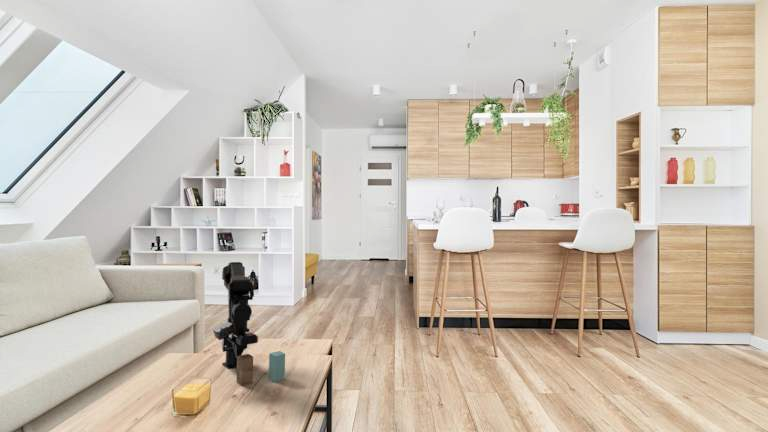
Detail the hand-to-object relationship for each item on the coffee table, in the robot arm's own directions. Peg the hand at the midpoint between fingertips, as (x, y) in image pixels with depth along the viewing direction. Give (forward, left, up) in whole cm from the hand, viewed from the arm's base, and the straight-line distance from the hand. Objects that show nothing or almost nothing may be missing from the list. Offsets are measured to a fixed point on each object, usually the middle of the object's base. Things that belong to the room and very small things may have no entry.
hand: (237, 358), depth 144 cm
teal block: (+10, +10, -7) cm, 16 cm away
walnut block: (+6, 0, -7) cm, 9 cm away
